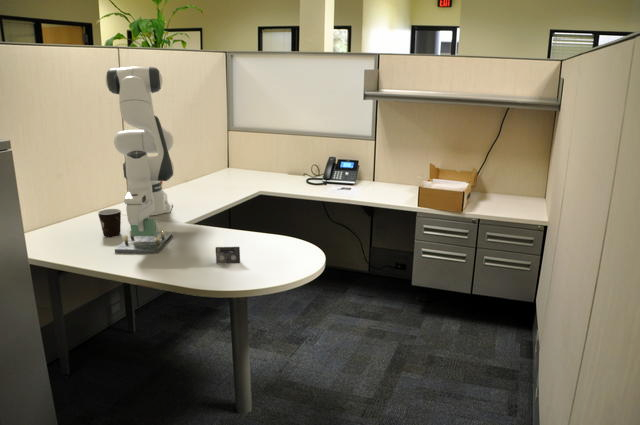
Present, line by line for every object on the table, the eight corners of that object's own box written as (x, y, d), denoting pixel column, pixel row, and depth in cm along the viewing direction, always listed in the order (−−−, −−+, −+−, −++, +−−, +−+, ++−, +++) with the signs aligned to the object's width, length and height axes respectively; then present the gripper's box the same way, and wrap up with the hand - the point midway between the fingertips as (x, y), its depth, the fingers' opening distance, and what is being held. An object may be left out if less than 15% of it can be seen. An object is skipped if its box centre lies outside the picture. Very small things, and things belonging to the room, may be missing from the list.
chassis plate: (134, 236, 217) (132, 225, 216) (173, 236, 217) (172, 225, 215) (114, 253, 198) (113, 241, 196) (157, 253, 197) (156, 241, 196)
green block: (134, 233, 207) (132, 218, 206) (157, 233, 207) (155, 218, 206) (131, 236, 205) (129, 221, 203) (154, 236, 204) (153, 221, 203)
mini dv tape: (240, 262, 189) (239, 246, 187) (239, 263, 188) (239, 247, 186) (217, 262, 189) (216, 246, 187) (216, 264, 187) (215, 247, 186)
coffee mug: (101, 233, 221) (98, 209, 218) (123, 230, 224) (120, 208, 221) (100, 241, 210) (97, 217, 208) (123, 239, 213) (121, 215, 210)
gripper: (141, 188, 212) (144, 221, 215) (122, 200, 192) (126, 237, 196) (157, 188, 211) (160, 221, 215) (139, 200, 192) (143, 237, 195)
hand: (143, 229), depth 205 cm, fingers closed on green block, 3 cm apart
